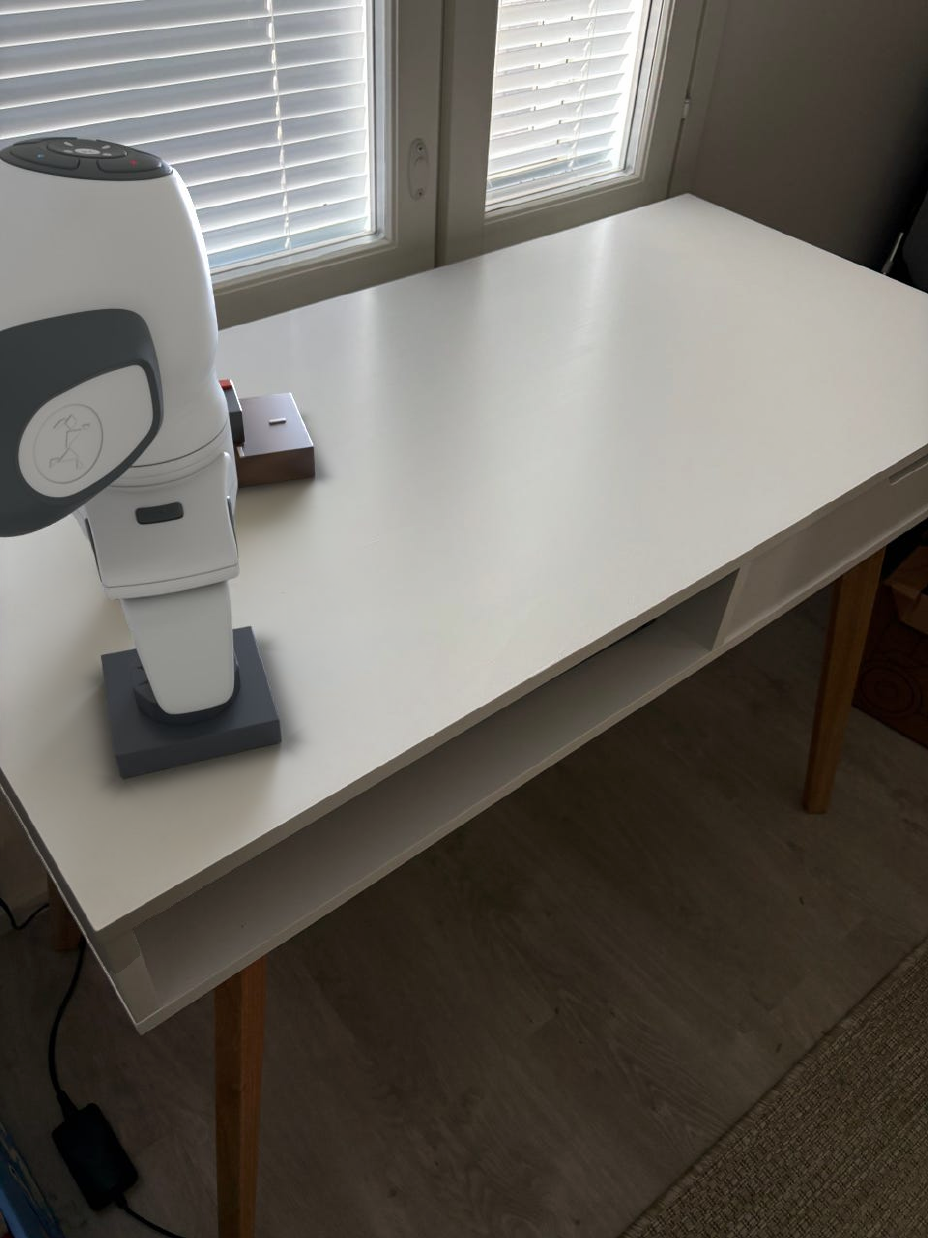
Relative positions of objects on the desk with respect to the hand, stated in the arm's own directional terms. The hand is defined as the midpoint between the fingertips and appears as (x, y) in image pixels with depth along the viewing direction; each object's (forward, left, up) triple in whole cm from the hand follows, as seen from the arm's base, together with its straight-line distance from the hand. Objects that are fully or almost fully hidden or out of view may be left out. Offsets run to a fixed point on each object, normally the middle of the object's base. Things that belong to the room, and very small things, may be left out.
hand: (186, 651), depth 63 cm
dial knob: (+8, +28, -3) cm, 29 cm away
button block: (0, 0, -6) cm, 6 cm away
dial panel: (+8, +28, -6) cm, 30 cm away
